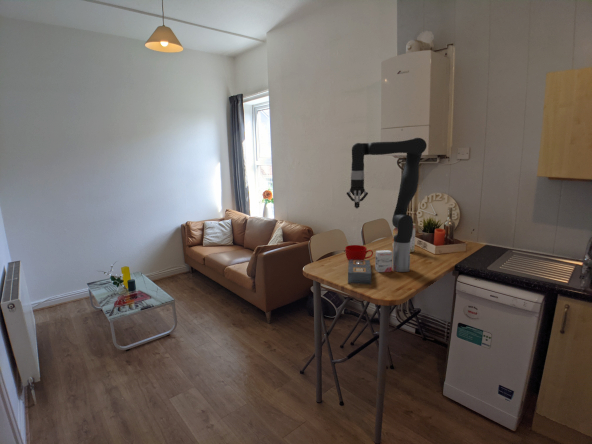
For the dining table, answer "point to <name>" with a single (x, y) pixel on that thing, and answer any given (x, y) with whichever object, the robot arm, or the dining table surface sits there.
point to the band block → (359, 272)
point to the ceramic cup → (356, 252)
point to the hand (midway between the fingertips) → (356, 208)
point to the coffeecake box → (412, 241)
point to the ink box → (383, 261)
